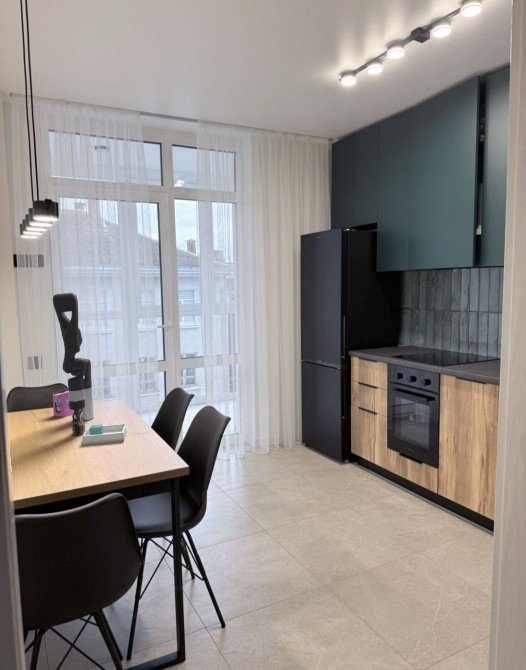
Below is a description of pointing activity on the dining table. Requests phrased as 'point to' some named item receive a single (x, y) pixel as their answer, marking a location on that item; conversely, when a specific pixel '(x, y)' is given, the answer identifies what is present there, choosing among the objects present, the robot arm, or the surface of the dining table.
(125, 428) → the white tray
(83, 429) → the walnut block
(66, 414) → the gum box
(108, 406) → the dining table surface
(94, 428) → the teal block
